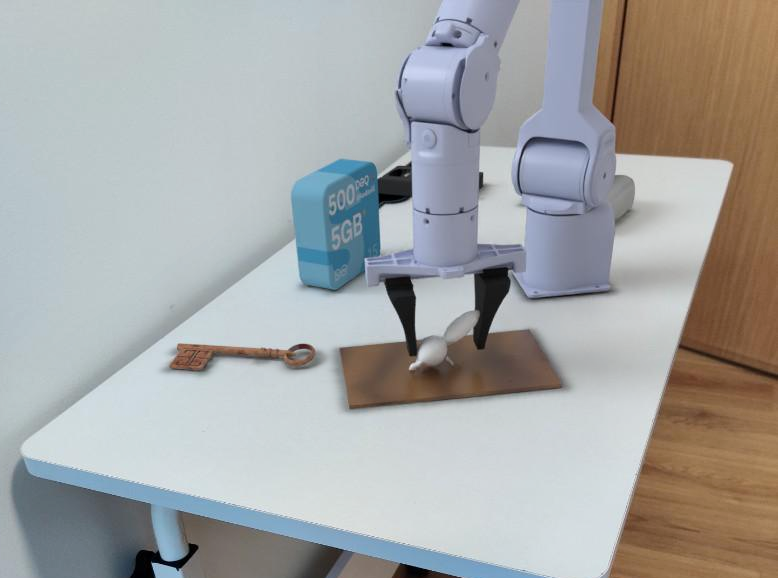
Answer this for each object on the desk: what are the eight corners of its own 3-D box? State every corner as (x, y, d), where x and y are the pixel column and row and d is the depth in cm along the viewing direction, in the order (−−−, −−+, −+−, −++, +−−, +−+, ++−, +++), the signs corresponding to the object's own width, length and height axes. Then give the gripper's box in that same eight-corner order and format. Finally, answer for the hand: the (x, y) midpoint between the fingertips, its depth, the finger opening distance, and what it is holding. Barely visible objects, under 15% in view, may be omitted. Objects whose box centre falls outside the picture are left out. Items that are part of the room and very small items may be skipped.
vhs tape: (483, 185, 127) (484, 171, 126) (465, 201, 122) (465, 187, 121) (398, 178, 132) (398, 164, 131) (377, 193, 127) (376, 179, 126)
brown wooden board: (529, 332, 88) (529, 329, 87) (561, 387, 78) (562, 383, 78) (339, 351, 87) (339, 347, 86) (349, 409, 77) (349, 405, 77)
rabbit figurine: (395, 361, 83) (454, 309, 84) (420, 391, 84) (479, 340, 84) (407, 354, 77) (470, 298, 78) (433, 387, 78) (497, 331, 79)
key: (164, 370, 86) (303, 380, 82) (162, 363, 85) (302, 372, 82) (187, 341, 90) (320, 349, 86) (185, 333, 89) (319, 341, 86)
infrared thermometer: (534, 202, 122) (636, 209, 115) (498, 229, 115) (604, 237, 107) (534, 169, 120) (638, 173, 112) (497, 194, 112) (606, 200, 105)
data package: (331, 294, 98) (322, 188, 91) (299, 288, 100) (288, 183, 92) (381, 259, 106) (377, 158, 98) (351, 254, 108) (344, 155, 100)
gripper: (367, 227, 69) (375, 375, 78) (539, 211, 70) (528, 359, 78) (359, 201, 75) (367, 341, 83) (518, 186, 75) (511, 327, 84)
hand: (445, 348), depth 81 cm, fingers closed on rabbit figurine, 6 cm apart
